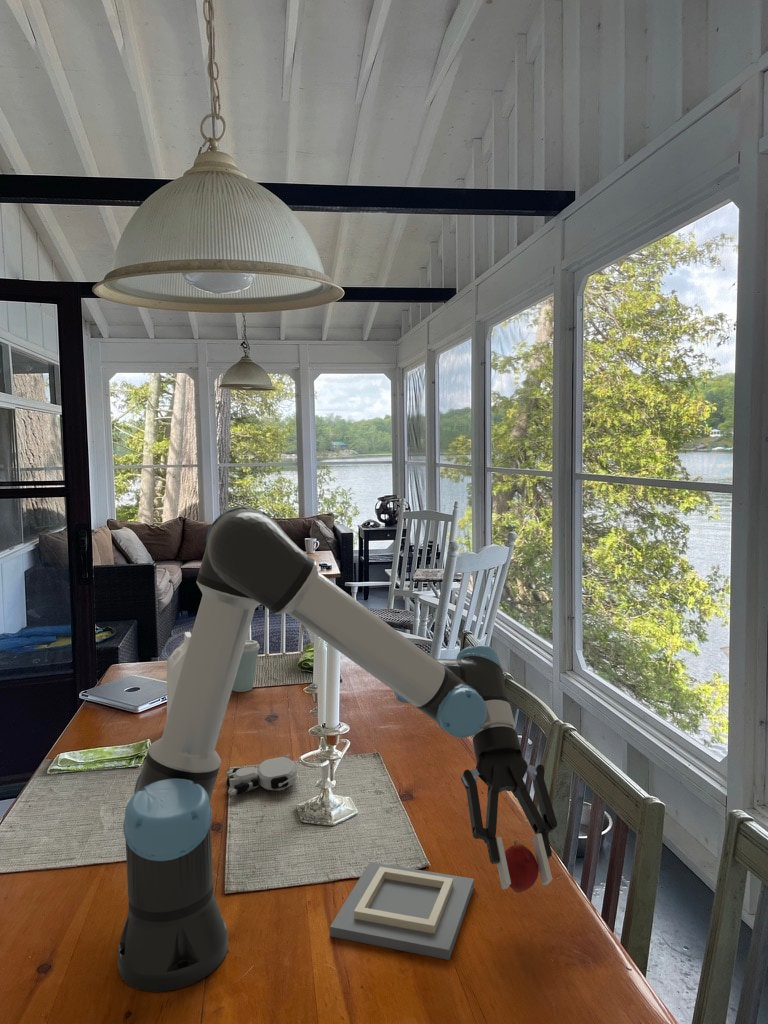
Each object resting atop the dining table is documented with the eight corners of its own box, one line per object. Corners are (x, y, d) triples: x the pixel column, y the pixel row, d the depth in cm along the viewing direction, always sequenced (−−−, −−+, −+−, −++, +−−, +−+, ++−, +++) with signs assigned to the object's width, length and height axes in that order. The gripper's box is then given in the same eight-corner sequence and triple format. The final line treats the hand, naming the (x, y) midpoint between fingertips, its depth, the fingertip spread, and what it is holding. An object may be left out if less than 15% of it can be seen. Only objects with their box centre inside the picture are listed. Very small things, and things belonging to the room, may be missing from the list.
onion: (532, 880, 114) (533, 830, 114) (542, 902, 109) (543, 850, 108) (495, 881, 114) (496, 831, 114) (503, 903, 108) (503, 851, 108)
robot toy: (229, 808, 151) (301, 793, 154) (226, 787, 150) (299, 773, 154) (226, 783, 162) (293, 770, 166) (224, 763, 162) (291, 750, 166)
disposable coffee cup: (224, 685, 229) (222, 638, 228) (258, 681, 232) (257, 635, 231) (227, 696, 219) (225, 646, 218) (263, 692, 222) (261, 643, 221)
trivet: (449, 960, 103) (448, 941, 102) (330, 936, 108) (329, 918, 108) (473, 887, 120) (473, 871, 120) (369, 870, 125) (369, 855, 125)
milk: (218, 737, 187) (214, 637, 185) (171, 745, 182) (167, 642, 180) (211, 722, 198) (207, 627, 196) (167, 728, 193) (163, 631, 192)
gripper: (541, 739, 127) (579, 885, 112) (436, 746, 124) (460, 897, 109) (553, 720, 121) (595, 871, 106) (443, 727, 118) (470, 883, 103)
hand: (527, 884), depth 107 cm, fingers closed on onion, 6 cm apart
